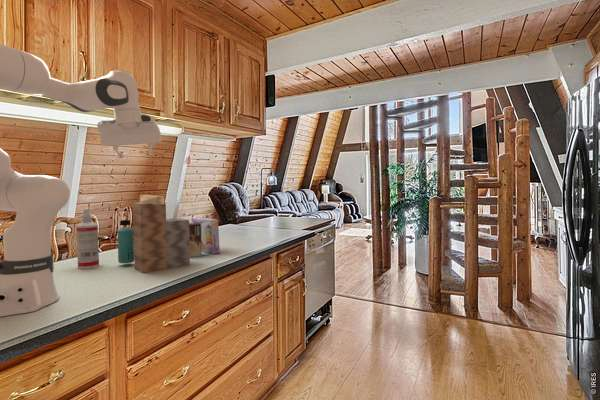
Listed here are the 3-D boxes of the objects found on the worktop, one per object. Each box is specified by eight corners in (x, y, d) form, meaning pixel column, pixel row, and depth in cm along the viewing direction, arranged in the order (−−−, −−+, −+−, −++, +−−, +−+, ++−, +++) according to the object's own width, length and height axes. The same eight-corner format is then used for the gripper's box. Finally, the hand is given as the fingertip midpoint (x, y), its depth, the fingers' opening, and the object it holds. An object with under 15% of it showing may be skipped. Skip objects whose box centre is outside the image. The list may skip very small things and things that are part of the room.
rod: (156, 204, 131) (156, 196, 130) (140, 201, 145) (139, 195, 145) (164, 204, 133) (164, 196, 132) (147, 201, 147) (147, 194, 147)
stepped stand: (142, 273, 136) (140, 203, 134) (134, 268, 143) (132, 202, 142) (189, 264, 149) (188, 201, 148) (180, 260, 157) (179, 200, 155)
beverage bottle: (128, 267, 145) (126, 221, 143) (114, 266, 146) (113, 220, 145) (138, 263, 151) (137, 219, 150) (125, 262, 152) (123, 218, 151)
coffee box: (200, 253, 171) (199, 222, 170) (202, 256, 165) (201, 224, 164) (181, 255, 168) (180, 223, 167) (182, 258, 162) (181, 225, 161)
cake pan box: (191, 249, 181) (191, 217, 180) (199, 248, 185) (199, 216, 184) (211, 255, 169) (211, 220, 168) (220, 253, 172) (219, 219, 171)
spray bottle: (100, 266, 145) (98, 209, 144) (79, 269, 140) (77, 210, 139) (96, 263, 151) (94, 207, 150) (76, 266, 146) (74, 208, 145)
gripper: (94, 119, 116) (101, 160, 118) (158, 116, 123) (164, 154, 125) (98, 121, 122) (105, 159, 124) (158, 117, 128) (164, 154, 131)
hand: (135, 157), depth 125 cm, fingers open, 8 cm apart
